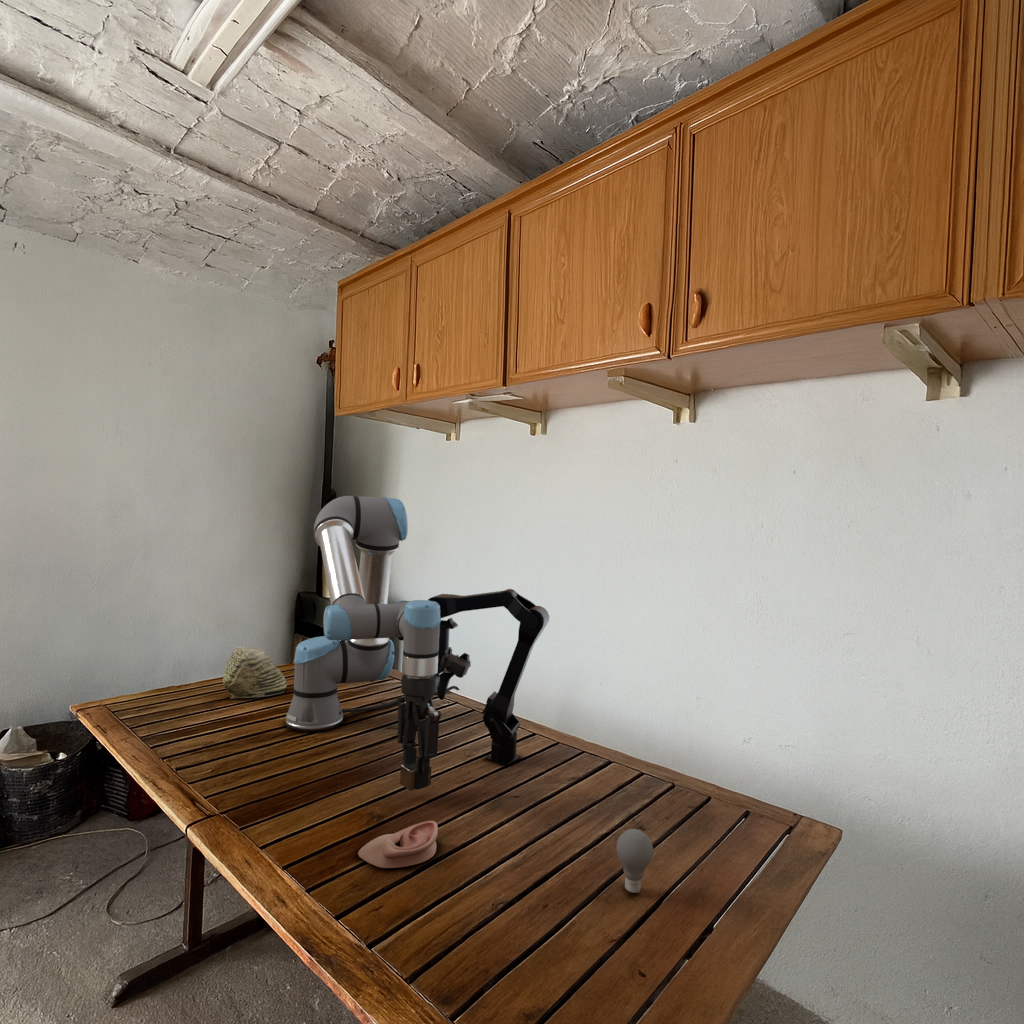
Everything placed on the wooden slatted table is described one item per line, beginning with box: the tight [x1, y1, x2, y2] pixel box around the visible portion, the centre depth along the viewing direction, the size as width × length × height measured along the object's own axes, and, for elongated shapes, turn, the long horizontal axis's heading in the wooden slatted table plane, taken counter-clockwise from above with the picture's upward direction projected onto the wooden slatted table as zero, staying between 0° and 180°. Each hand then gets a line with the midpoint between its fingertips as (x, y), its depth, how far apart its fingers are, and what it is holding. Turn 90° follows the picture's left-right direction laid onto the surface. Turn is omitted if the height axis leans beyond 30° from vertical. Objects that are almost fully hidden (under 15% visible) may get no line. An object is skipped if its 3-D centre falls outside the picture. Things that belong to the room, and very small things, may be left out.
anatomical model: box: [357, 820, 439, 869], centre depth 114 cm, size 13×4×12 cm
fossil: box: [222, 646, 288, 699], centre depth 198 cm, size 9×18×15 cm, turn 132°
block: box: [399, 761, 432, 792], centre depth 135 cm, size 5×4×4 cm
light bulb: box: [615, 828, 654, 894], centre depth 106 cm, size 6×6×10 cm
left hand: (415, 782), depth 135 cm, fingers closed on block, 4 cm apart
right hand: (435, 704), depth 162 cm, fingers open, 9 cm apart
